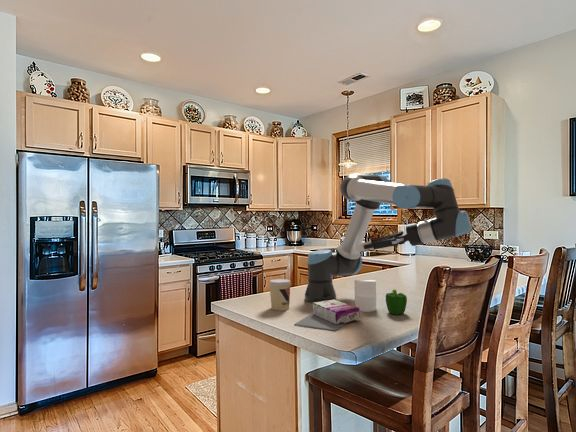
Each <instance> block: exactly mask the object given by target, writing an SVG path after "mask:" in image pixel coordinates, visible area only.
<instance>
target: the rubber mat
mask: <svg viewBox="0 0 576 432" xmlns="http://www.w3.org/2000/svg"><path fill="white" fill-rule="evenodd" d="M345 324H346V323H341V324H334V323H331V322H329V321H327V320H325V319H323V318H320V317H318V316H316V315H314V314H313V312H312V313H310V314H309V315H306V316H304V317H303V318H302V319H301V320H299V321H297V322H295V323H294V326H296V325H299V327H303V326H304V328H310V329H318V330H326V331H333V332H336V331H338V330H339V329H340V328H341V327H343V325H345Z"/></svg>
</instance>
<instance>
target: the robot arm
mask: <svg viewBox="0 0 576 432" xmlns="http://www.w3.org/2000/svg"><path fill="white" fill-rule="evenodd" d="M339 192H340V193H341V195H342V197H343V198H344V199H347V200H348V201H352V202H354V203H355V206H354V209H353V211H352V215H351V217H350V219H349V220H350V221H349V223H348V226H347V229H346V231H345V234H344V237H343V240H342V243H341V244H339V245H338V246H337V248H336V250H335V251H332V250H331V249H319V250H314V251H312V252H309V253H308V255H307V261H306V262H307V286H306V289H305V292H304V300H305V301H306V302H309V303H314V302H321V301H327V300H334V299H335V300H337V293H336V290H335V287H334V285H333V277H342V276H352V275H356V274H358V273H359V272H360V270H361V269H362V266H363V257H362V255H361V252H366V251H368V250H372V249H373V250H379V249H384V248H385V249H386V248H389V247H390V248H391V247H395V246H396V247H397V246H399V245H404V244H405V243H406V242H409V244H410V245H411V246H413V247H414V246H420V245H423V244H429V243H434V242H438V241H440V240H446V239H451V238H456V237H459V236H463V235H466V234H470V233H471V232H472V229H473V228H472V224H471V223H472V222H471V219H470V217H469V214H468V212H467V210H460V208H459V205H458V202H457V199H456V198H457V197H456V195H455V190H454V187H453V185H452V182H451V180H450V179H449V178H437V179H433V180H431V181H429V182H428V183H427V185H426V184H425V185H421V184H405V183H396V182H390V181H389V178H387V177H386V176H385V175H382V174H377V173H376V174H371V173H370V174H368V173H367V174H365V173H364V174H363V173H352V174H349V175H347V176H345V177H344V178H343V179H342V180H341V182H340V185H339ZM382 204H388V205H391V206H396V207H397V208H399V209H404V210H405V209H406V210H410V209H411V210H412V209H433V214H434V216H435V217H433V218H430V219H428V218H424V219H423V220H422V221H419V222H418V223H417V222H414V223H409V224H407V225H406V226H405V231H403V230H400V231H398V232H395V233H392V234H388V235H385V236H382V237H377V238H376V239H374V240H373V239H370V240H369V241H365V242H363V241H364V238H365V235H366V233H367V230H368V227H369V225H370V223H371V220H372V217H373V215H374V212H375V211H377V210H379V209H380V206H381V205H382Z"/></svg>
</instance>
